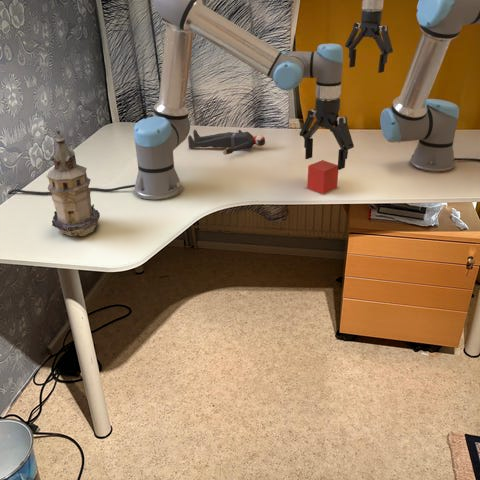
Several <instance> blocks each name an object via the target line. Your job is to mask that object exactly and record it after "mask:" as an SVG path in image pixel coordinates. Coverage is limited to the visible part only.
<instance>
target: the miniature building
mask: <svg viewBox="0 0 480 480" xmlns="http://www.w3.org/2000/svg"><path fill="white" fill-rule="evenodd" d="M56 134H57V136H56V138H55V140H54V141H55V142H56V147H55V154H54V156H52V157H51V161H52V162H53V165H54V167H53V168H51V169H50V170H49V171H48V173H47V174H46V178H47V179H48V182H49V184H48V186H47V190H48V192H51V193H52V194H51V200H52V201H53V205H54V209H55V211H53V217H52V220H51V223H52V225H51V227H54V228H56V229H58V230H59V231H60V234H63V235H64V234H65V235H66V236H69V237H77V236H80V237H83V236H87V235H88V234H90V233H93V232H94V231H95V229H96V226H97V225H98V223H99V220H100V216H101V213H100V212H99V210H98V209H96V208H95V204H92V201H91V200H92V199H91V198H92V197H91V192H92V190H90V189H89V188H90V184H91V178H89V177H88V174H87V167H85V166H84V165H83V166H82V165H80V164H77V160H76V154H75V151H74V150H70V149H69V147H68V145H67V143H66V138H65V137H64V136H63V135H61V130H60V129H56Z"/></svg>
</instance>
